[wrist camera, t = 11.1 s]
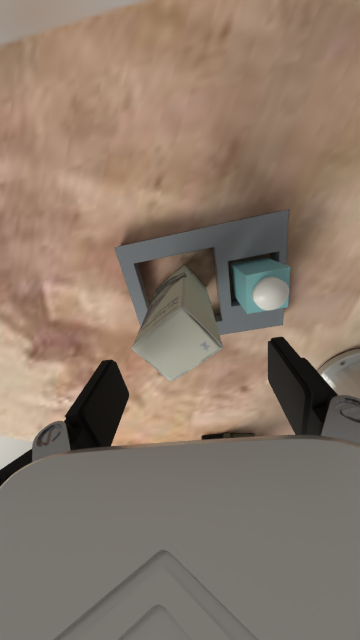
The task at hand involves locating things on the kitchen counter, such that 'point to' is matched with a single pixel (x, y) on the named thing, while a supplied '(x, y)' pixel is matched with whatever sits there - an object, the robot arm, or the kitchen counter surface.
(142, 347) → the box
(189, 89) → the kitchen counter surface
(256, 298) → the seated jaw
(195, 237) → the frame
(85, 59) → the kitchen counter surface
